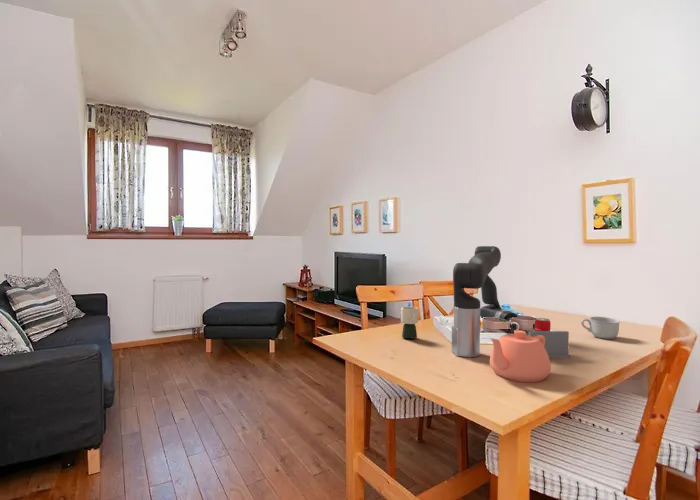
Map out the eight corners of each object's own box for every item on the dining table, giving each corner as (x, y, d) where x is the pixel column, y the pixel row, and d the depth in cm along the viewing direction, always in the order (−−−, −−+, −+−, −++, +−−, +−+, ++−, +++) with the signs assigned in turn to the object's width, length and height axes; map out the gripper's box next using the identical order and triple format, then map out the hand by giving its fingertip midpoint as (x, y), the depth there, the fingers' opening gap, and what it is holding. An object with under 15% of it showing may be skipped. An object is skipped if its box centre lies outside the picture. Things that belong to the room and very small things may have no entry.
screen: (532, 358, 132) (532, 333, 132) (526, 355, 136) (526, 330, 136) (570, 358, 133) (570, 332, 133) (563, 354, 137) (563, 330, 137)
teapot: (514, 391, 104) (514, 342, 103) (467, 372, 118) (468, 330, 118) (568, 375, 116) (568, 332, 115) (520, 360, 130) (520, 322, 130)
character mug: (422, 341, 155) (422, 309, 155) (406, 342, 154) (406, 310, 153) (412, 334, 166) (412, 305, 166) (397, 335, 164) (397, 305, 164)
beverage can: (552, 353, 139) (552, 321, 138) (536, 352, 140) (537, 320, 140) (547, 349, 144) (548, 318, 144) (533, 348, 145) (533, 317, 145)
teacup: (618, 336, 164) (618, 318, 164) (620, 342, 155) (620, 322, 155) (580, 332, 171) (581, 314, 171) (580, 337, 162) (580, 318, 162)
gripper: (491, 310, 169) (508, 318, 153) (521, 310, 170) (542, 317, 154) (491, 327, 170) (508, 336, 153) (521, 327, 171) (542, 336, 154)
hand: (525, 327), depth 154 cm, fingers open, 8 cm apart
